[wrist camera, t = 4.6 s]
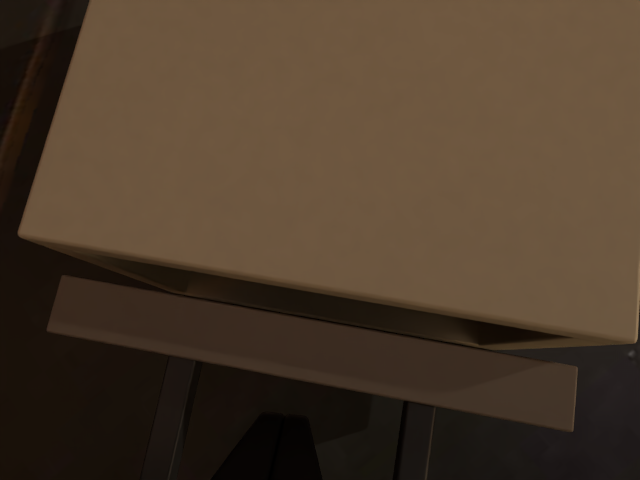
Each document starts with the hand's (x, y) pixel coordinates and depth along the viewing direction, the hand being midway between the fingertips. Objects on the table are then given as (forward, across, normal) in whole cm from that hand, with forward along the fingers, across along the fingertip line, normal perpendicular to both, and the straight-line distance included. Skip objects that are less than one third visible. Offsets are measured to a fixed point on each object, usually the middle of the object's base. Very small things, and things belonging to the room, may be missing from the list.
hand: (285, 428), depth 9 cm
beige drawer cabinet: (+13, -1, 0) cm, 13 cm away
